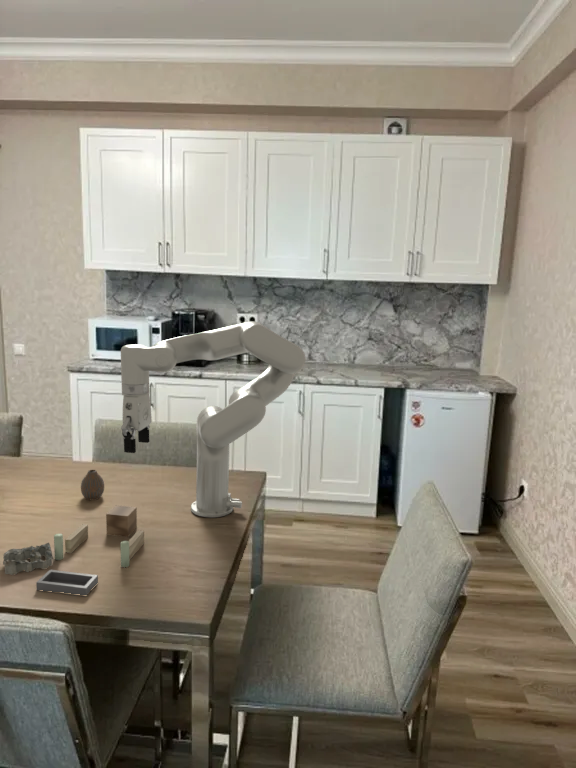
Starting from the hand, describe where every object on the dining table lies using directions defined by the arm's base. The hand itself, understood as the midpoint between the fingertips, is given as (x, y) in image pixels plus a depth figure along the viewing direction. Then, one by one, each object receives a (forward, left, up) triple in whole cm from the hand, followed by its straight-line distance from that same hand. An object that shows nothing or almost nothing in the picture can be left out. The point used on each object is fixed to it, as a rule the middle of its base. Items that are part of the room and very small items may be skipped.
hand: (137, 447), depth 165 cm
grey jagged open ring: (+14, +34, -21) cm, 42 cm away
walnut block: (0, +12, -20) cm, 24 cm away
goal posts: (0, +29, -20) cm, 36 cm away
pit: (0, +41, -20) cm, 45 cm away
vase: (+18, -8, -20) cm, 28 cm away
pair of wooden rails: (0, +22, -20) cm, 30 cm away
